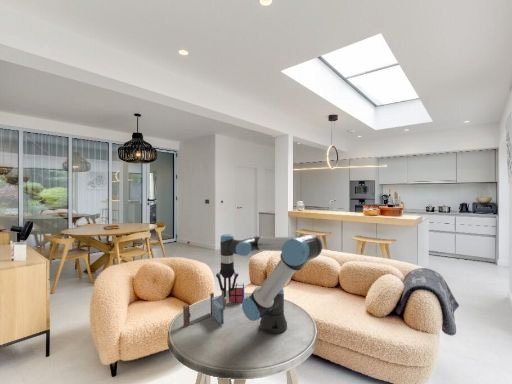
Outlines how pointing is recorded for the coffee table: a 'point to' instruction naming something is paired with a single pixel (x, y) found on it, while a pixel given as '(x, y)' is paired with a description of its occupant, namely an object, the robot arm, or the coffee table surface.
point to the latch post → (186, 315)
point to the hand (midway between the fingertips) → (227, 302)
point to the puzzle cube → (237, 293)
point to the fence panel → (221, 300)
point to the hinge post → (211, 301)
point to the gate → (217, 311)
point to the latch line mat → (200, 319)
